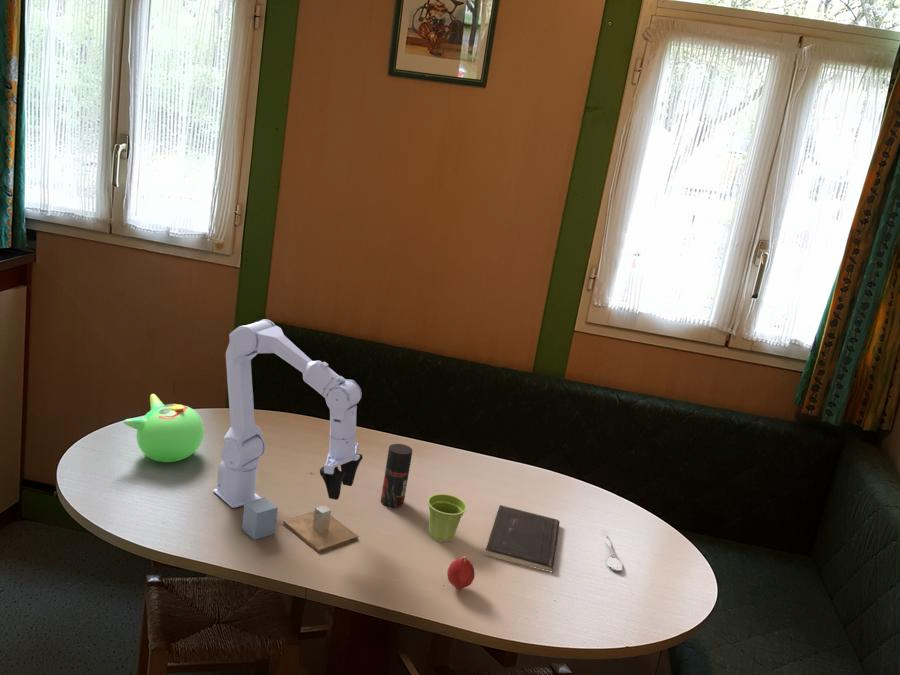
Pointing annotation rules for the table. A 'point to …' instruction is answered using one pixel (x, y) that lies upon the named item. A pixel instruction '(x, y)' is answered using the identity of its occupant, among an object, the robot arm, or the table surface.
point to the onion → (461, 573)
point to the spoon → (613, 556)
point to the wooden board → (320, 529)
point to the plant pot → (444, 516)
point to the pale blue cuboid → (259, 518)
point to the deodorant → (396, 475)
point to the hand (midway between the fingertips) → (340, 491)
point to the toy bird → (168, 431)
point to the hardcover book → (524, 538)
